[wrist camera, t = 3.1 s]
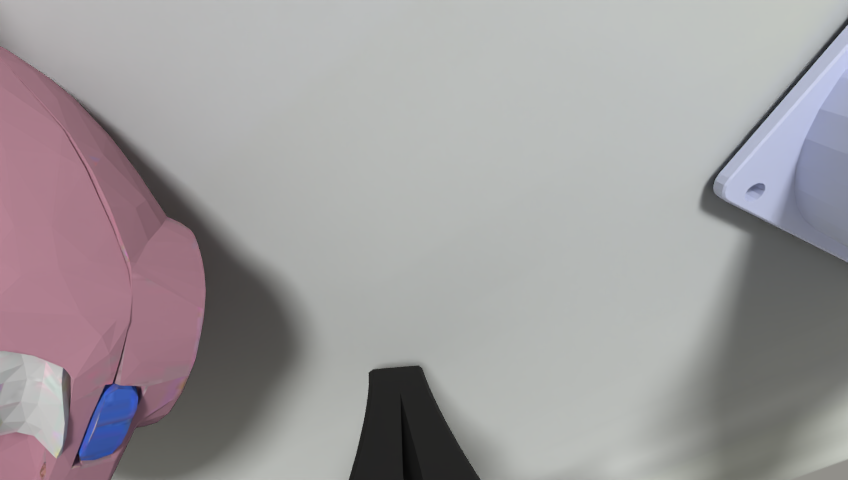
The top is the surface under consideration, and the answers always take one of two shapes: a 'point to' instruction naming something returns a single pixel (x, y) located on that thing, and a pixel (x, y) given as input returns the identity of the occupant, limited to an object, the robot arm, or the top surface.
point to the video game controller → (83, 289)
